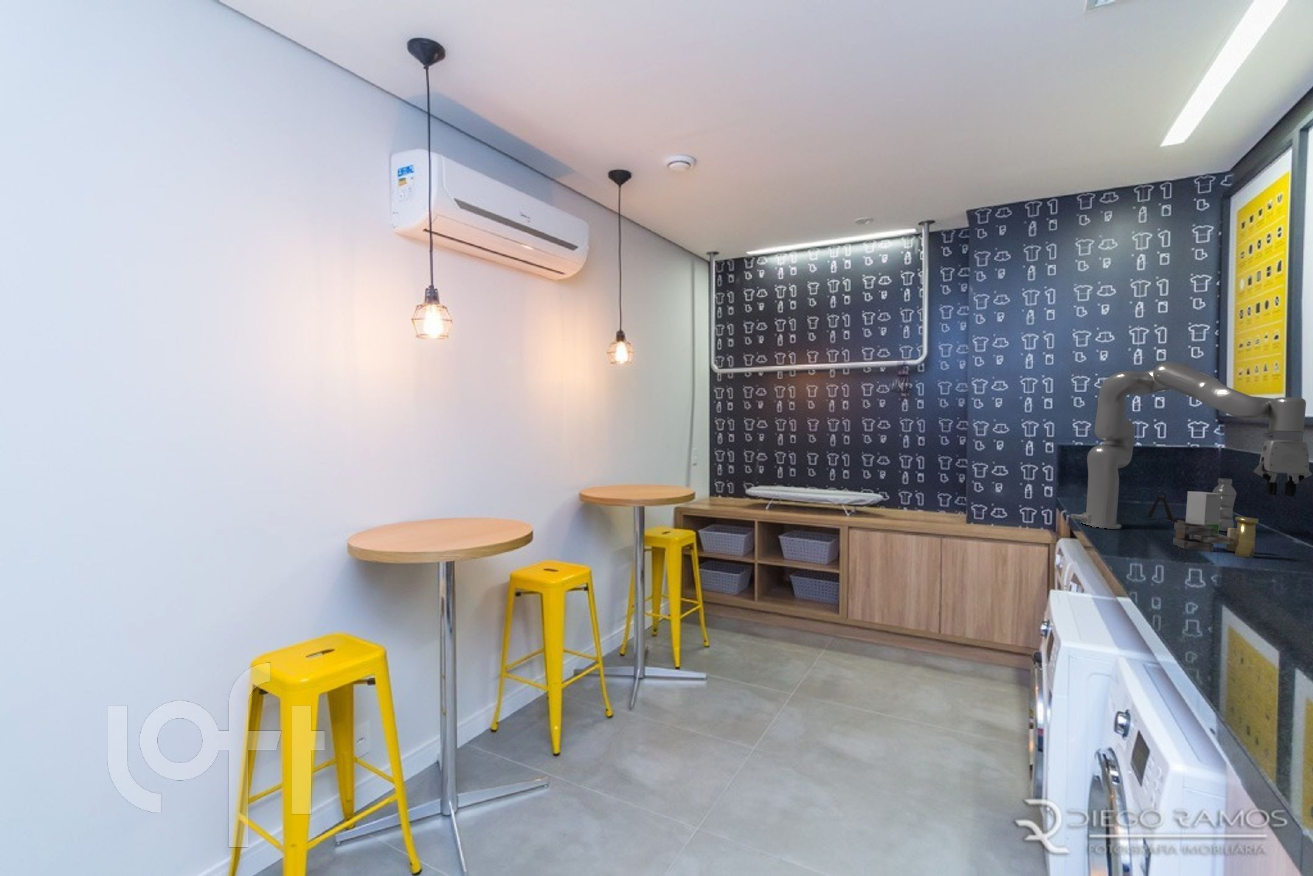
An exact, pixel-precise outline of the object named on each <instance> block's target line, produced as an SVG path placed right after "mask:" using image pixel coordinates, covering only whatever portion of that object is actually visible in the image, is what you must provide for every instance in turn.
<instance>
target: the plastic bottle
mask: <svg viewBox="0 0 1313 876" xmlns="http://www.w3.org/2000/svg"><path fill="white" fill-rule="evenodd" d="M1217 484H1218V485H1216V486H1215V487H1214V489H1213V490H1212V493H1219V494H1221V508H1220V522H1219V532H1228V528H1234V526H1235V525H1234V524H1235V523H1234V514H1233V512H1234V511H1233V510H1234V505H1235V501H1236V496H1237V490H1235V488H1234V487H1233V486H1232V485H1233V479H1232V478H1226V477H1225V478H1222V477H1219V478H1218V479H1217Z"/></svg>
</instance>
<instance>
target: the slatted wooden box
mask: <svg viewBox="0 0 1313 876" xmlns="http://www.w3.org/2000/svg"><path fill="white" fill-rule="evenodd" d="M1173 523H1174V524H1173V526H1174V527H1173V530H1174V531H1175V532H1176V533H1175V537H1174V536H1173V538H1172V539H1173V540H1172V545H1173V544H1174V545H1173V546H1175V545H1177V546H1178V547H1177V546H1176V547H1177V548H1180V547H1181V548H1180V549H1182V548H1183V550H1185V549H1186V551H1187V550H1188V551H1197V550H1199V551H1200V552H1208V551H1210V553H1212V552H1214V544H1215V543H1205V542H1201V541H1199V540H1196V539H1194V538H1190V536H1192V535H1202V536H1214V532H1215V529H1214V528H1211V527H1208V526H1206V525H1203V524H1190V523H1188V522H1186V520H1185V521H1184V520H1182V519H1177V520H1176V521H1174V522H1173ZM1199 551H1198V552H1199Z"/></svg>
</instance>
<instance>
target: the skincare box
mask: <svg viewBox="0 0 1313 876" xmlns="http://www.w3.org/2000/svg"><path fill="white" fill-rule="evenodd" d="M1186 499H1187V500H1186V509H1185V510H1186V513H1185V522H1188V523H1190V524H1203V525H1206V526H1208V527H1211V528H1214V529H1215V532H1214V534H1220V531H1219V522H1220V508H1221V494H1219V493H1213V492H1206V491H1189V490H1188V491H1187V497H1186Z"/></svg>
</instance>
